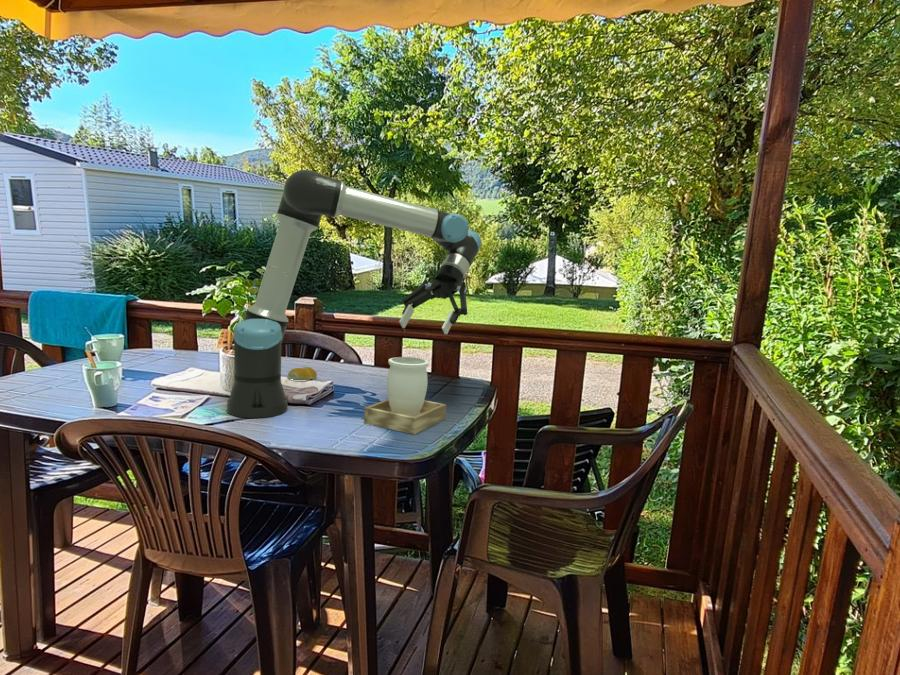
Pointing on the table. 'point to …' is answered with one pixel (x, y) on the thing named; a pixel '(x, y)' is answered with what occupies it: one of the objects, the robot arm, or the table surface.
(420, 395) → the jar
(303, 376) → the bread roll
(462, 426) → the table surface
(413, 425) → the holder
